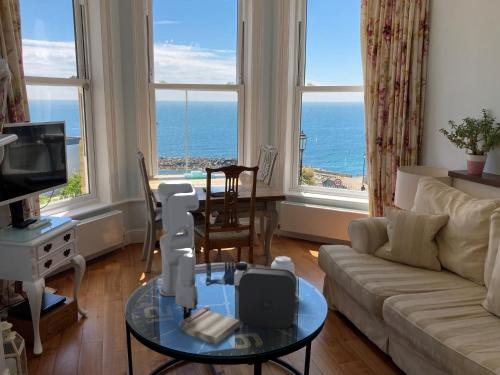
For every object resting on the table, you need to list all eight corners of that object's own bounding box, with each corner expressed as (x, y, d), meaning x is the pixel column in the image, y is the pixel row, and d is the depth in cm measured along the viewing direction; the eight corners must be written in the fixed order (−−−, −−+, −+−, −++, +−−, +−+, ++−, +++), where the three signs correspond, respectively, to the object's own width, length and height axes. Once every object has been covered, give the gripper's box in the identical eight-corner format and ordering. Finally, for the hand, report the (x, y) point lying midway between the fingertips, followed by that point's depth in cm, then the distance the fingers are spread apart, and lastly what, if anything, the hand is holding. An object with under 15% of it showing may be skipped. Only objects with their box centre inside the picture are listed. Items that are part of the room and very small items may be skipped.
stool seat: (177, 330, 191) (177, 323, 191) (202, 314, 207) (202, 307, 206) (215, 344, 181) (215, 336, 180) (239, 326, 196) (239, 319, 196)
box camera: (246, 286, 240) (247, 266, 238) (233, 285, 242) (234, 264, 239) (249, 281, 247) (249, 261, 245) (236, 280, 248) (237, 260, 246)
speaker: (294, 321, 202) (296, 270, 197) (293, 331, 193) (295, 277, 189) (240, 317, 205) (241, 266, 201) (237, 326, 197) (238, 273, 192)
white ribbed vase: (298, 294, 232) (299, 258, 229) (283, 301, 223) (285, 264, 219) (279, 287, 240) (280, 252, 237) (265, 294, 231) (266, 258, 228)
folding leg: (206, 311, 209) (206, 305, 208) (210, 313, 208) (210, 306, 207) (184, 326, 195) (184, 318, 194) (188, 327, 194) (188, 320, 193)
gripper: (169, 279, 197) (169, 317, 200) (193, 288, 189) (193, 327, 192) (180, 274, 203) (180, 311, 207) (205, 282, 195) (205, 320, 198)
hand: (187, 319), depth 199 cm, fingers closed
